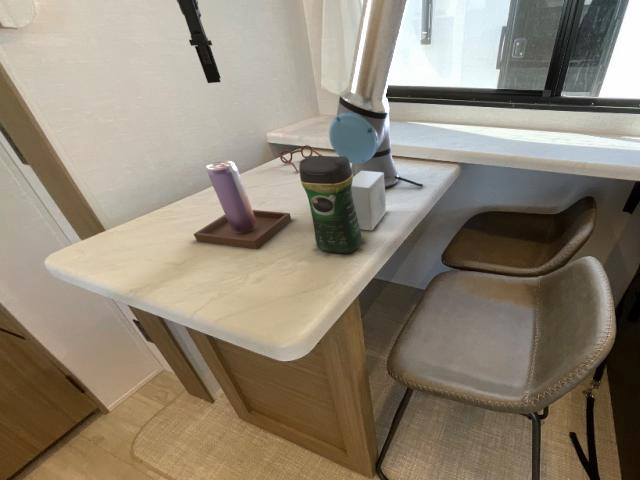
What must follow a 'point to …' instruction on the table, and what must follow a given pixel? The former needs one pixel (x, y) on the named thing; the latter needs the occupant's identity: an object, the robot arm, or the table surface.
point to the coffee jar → (331, 202)
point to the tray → (263, 232)
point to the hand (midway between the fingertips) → (214, 80)
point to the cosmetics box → (369, 198)
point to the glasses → (296, 152)
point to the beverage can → (232, 196)
